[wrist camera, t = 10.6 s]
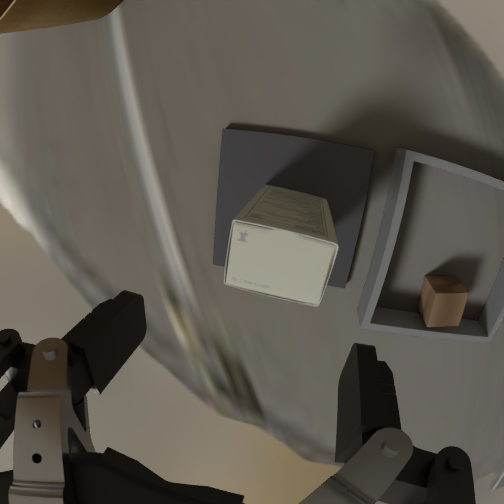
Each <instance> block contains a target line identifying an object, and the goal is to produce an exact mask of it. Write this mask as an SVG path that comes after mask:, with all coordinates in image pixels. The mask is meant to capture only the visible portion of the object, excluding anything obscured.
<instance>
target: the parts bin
mask: <svg viewBox="0 0 504 504" xmlns="http://www.w3.org/2000/svg"><path fill="white" fill-rule="evenodd" d="M413 161H415V162H419V163H423V164H426V165H430V166H433V167H437V168H440V169H443V170H446V171H450V172H453V173H456V174H459V175H462V176H465V177H468V178H471V179H474V180H477V181H480V182H483V183H485V184H488V185H491V186H493V187H496V188H499V189H501V190H504V182H503V181H501V180H498V179H496V178H493V177H491V176H488V175H485V174H483V173H480V172H477V171H474V170H472V169H469V168H466V167H463V166H460V165H457V164H454V163H451V162H448V161H445V160H441V159H438V158H435V157H431V156H428V155H425V154H421V153H417V152H414V151H410V150H406V149H402V148H397V147H396V151H395V157H394V163H393V169H392V174H391V180H390V185H389V190H388V195H387V200H386V204H385V209H384V213H383V218H382V222H381V226H380V231H379V235H378V239H377V243H376V246H375V250H374V254H373V258H372V262H371V265H370V269H369V272H368V276H367V279H366V283H365V286H364V289H363V293H362V296H361V299H360V302H359V305H358V308H357V312H358V319H359V325H360V329H367V330H374V331H381V332H389V333H396V334H404V335H412V336H421V337H430V338H439V339H449V340H460V341H471V342H484V343H490V341H491V339H492V338H493V336H494V334H495V332H496V330H497V328H498V326H499V324H500V322H501V320H502V318H503V316H504V259H503V262H502V265H501V268H500V270H499V273H498V276H497V278H496V281H495V283H494V286H493V288H492V290H491V293H490V295H489V297H488V300H487V302H486V304H485V306H484V309H483V311H482V313H481V315H480V317H479V319H478V321H476V320H468V319H461V320H460V323H459V326H445V327H427V326H426V324H425V321H424V319H423V317H422V315H421V313H416V312H410V311H403V310H396V309H390V308H383V307H377V306H376V304H377V301H378V298H379V295H380V292H381V289H382V286H383V283H384V280H385V277H386V274H387V270H388V267H389V264H390V260H391V257H392V253H393V250H394V246H395V242H396V239H397V235H398V231H399V227H400V223H401V219H402V215H403V211H404V206H405V202H406V197H407V193H408V188H409V183H410V178H411V173H412V167H413Z"/></svg>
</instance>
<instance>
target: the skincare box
mask: <svg viewBox="0 0 504 504" xmlns="http://www.w3.org/2000/svg"><path fill="white" fill-rule="evenodd" d="M338 249H339V246H338V242H337V237H336V234H335V229H334V225H333V221H332V217H331V213H330V209H329V205H328V202H327V200H326V199H324V198H321V197H317V196H313V195H309V194H306V193H302V192H298V191H293V190H289V189H285V188H280V187H275V186H270V185H264V186H263V187H262V188H261V189H260V190H259V191H258V193H257V194H256V195H255V196H254V197H253V198H252V199H251V200H250V201H249V202H248V203H247V205H246V206H245V207H244V208H243V209H242V210H241V211H240V212H239V213H238V214H237V216H236V217H235V218H234V219H233V220H232V226H231V231H230V237H229V243H228V250H227V256H226V263H225V272H224V284H226V285H228V286H232V287H235V288H239V289H242V290H246V291H250V292H254V293H258V294H262V295H266V296H271V297H275V298H278V299H283V300H288V301H292V302H297V303H301V304H306V305H311V306H319V304H320V302H321V299H322V296H323V294H324V291H325V288H326V286H327V283H328V280H329V277H330V274H331V271H332V268H333V265H334V262H335V259H336V255H337V252H338Z"/></svg>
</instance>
